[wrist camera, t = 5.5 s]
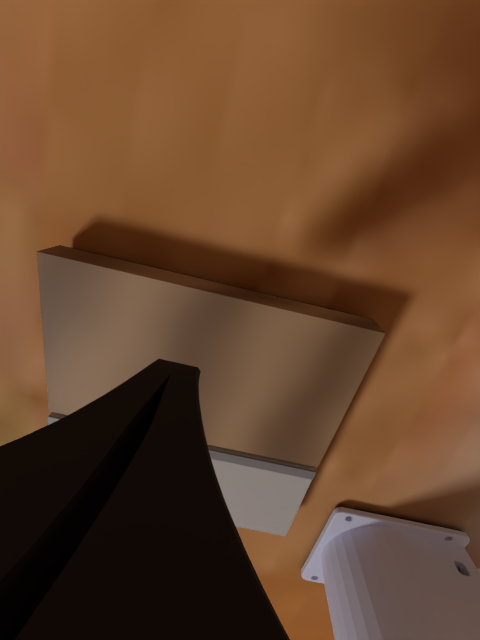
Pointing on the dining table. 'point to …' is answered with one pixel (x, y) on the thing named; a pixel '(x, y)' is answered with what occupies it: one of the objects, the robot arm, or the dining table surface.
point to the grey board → (256, 487)
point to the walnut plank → (204, 350)
